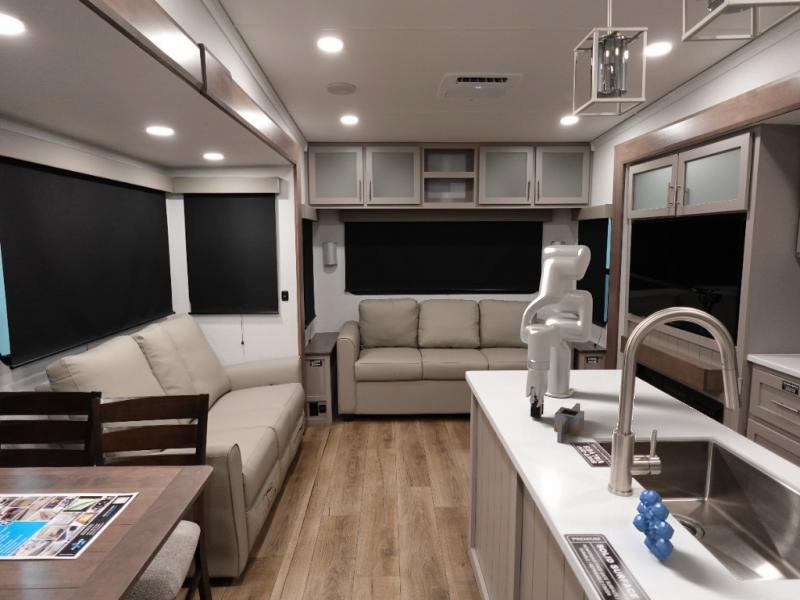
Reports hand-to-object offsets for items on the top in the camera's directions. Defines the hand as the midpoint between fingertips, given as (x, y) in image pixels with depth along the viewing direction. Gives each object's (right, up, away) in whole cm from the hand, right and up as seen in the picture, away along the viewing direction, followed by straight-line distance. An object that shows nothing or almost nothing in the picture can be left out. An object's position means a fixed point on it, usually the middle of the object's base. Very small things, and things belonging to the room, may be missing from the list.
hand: (536, 415), depth 165 cm
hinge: (+8, -3, -10) cm, 13 cm away
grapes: (+2, -10, -70) cm, 71 cm away
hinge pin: (0, -1, 0) cm, 1 cm away
